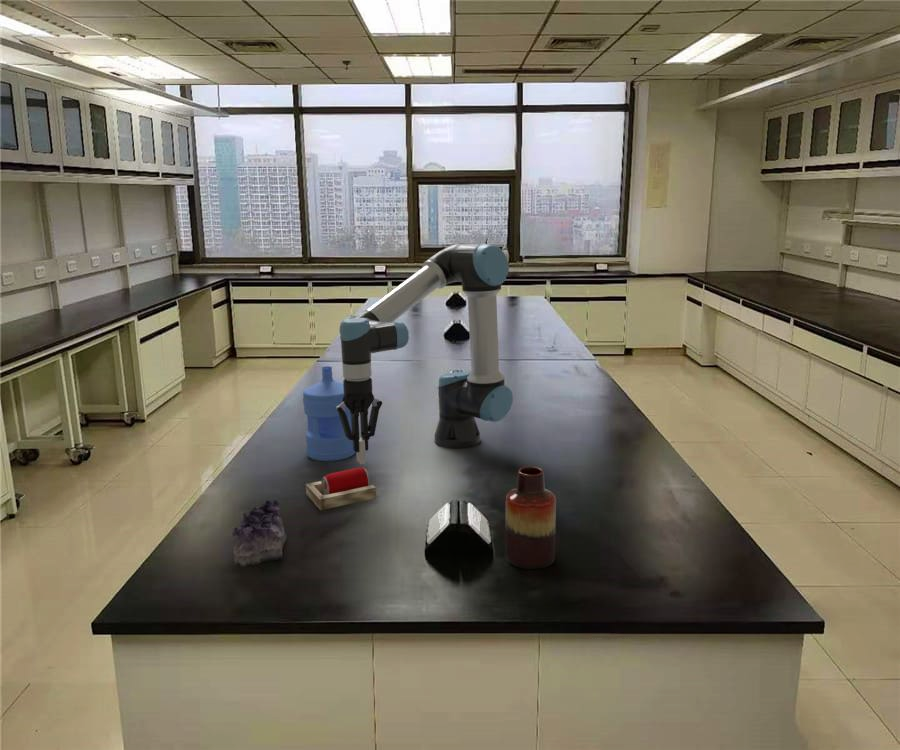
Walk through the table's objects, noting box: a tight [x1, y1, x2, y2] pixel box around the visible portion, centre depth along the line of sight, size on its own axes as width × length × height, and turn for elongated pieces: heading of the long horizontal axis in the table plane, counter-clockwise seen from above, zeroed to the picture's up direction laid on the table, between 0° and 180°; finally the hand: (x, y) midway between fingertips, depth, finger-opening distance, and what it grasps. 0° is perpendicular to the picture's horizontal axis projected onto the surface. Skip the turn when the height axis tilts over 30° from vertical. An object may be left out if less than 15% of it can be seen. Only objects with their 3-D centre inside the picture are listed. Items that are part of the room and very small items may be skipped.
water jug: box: [302, 365, 356, 462], centre depth 221 cm, size 16×16×28 cm
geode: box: [232, 499, 288, 568], centre depth 161 cm, size 20×12×10 cm, turn 7°
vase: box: [505, 466, 557, 570], centre depth 153 cm, size 11×11×20 cm
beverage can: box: [320, 466, 370, 495], centre depth 191 cm, size 6×6×12 cm
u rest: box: [305, 480, 377, 511], centre depth 190 cm, size 16×12×3 cm
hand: (361, 462), depth 191 cm, fingers closed
